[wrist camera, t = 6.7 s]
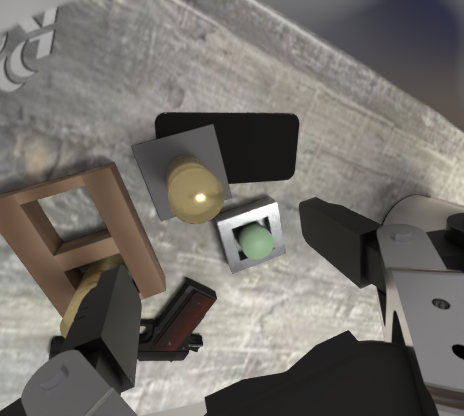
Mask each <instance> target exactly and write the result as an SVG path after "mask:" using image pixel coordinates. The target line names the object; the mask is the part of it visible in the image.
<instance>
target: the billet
mask: <svg viewBox="0 0 464 416" xmlns="http://www.w3.org/2000/svg"><path fill="white" fill-rule="evenodd" d="M166 180H167V189H168V199H169V205H170V208H171V210H172V212H173V213H174V214H175V216H176V217H178V218H179V219H180V220H182V221H184V222H186V223H190V224H201V223H205V222H207V221H209V220H211V219H213V218H214V217H215V216H216V215H217V214H218V213H219V212H220V210H221V208H222V206H223V203H224V190H223V187H222V185H221V183H220V182H219V180H218V179H217V178H216V177H215V176H214V175H213V174H212V173H211V172H210V171H209V170H208V169H207V167H206V166H205V165H204V164H203V163H202V162H201V161H200V160H199V159H198V158H196V157H194V156H191V155H180V156H177V157H176V158H174V159H173V160H172V161H171V162H170V163H169V165H168V167H167V170H166Z"/></svg>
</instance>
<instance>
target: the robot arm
mask: <svg viewBox="0 0 464 416" xmlns="http://www.w3.org/2000/svg"><path fill="white" fill-rule="evenodd" d="M299 213H300V220H301V228H302V234H303V237H304V239H305V241H306V242H307V243H308V244H309V245H310V246H311V247H312V248H313V249H314V250H316V251H317V252H318V253H319V254H320V255H321V256H323V257H324V258H325V259H326V260H327V261H329V262H330V263H331V264H332V265H333V266H334V267H336V268H337V269H338V270H339V271H340V272H341V273H343V274H344V275H345V276H346V277H347V278H349V279H350V280H351V281H352V282H353V283H354V284H356V285H357V286H358V287H359V288H360V289H361V288H364V287H366V286H368V285H370V284H373V285H375V286H376V298H377V303H378V309H379V314H380V320H381V325H382V330H383V336H384V341H375V340H366V341H358V340H357V339H356V338H355V337H354V336H353V335H352V334H351V332H350V331H349V330H348V331H346V332H343V333H341V334H339V335H337V336H335V337H333V338H331V339H328V340H326V341H324V342H322V343H320V344H318V345H316V346H315V347H314V348H312V349H311V350H310V351H309V352H308V353H307V354H306V355H304V356H303V357H302V358H301V359H300V360H299V361H298V362H297V363H295V364H294V365H293V366H292V367H291V368H290V369H289V370H287V371H286V372H283V373H278V374H272V375H266V376H260V377H254V378H249V379H243V380H241V381H239V382H236V383H234V384H232V385H230V386H228V387H226V388H224V389H221V390H219V391H217V392H215V393H213V394H211V395H209V396H206V397H205V403H206V409H207V413H206V414H205V415H204V416H464V206H462V205H459V204H455V203H452V202H449V201H445V200H442V199H438V198H435V197H430V198H428V197H424V196H420V195H413V196H409V197H407V198H405V199H403V200H401V201H400V202H399V203H397V204H396V205H395V206H394V207H393V208H392V210H391V211H390V212H389V214H388V215H387V217H386V219H385V221H384V223H383V225H381V224H379V223H377V222H375V221H373V220H371V219H369V218H366V217H364V216H362V215H360V214H359V215H358V213H356V212H354V211H351V210H350V209H348V208H346V207H344V206H342V205H337V204H332V203H327V202H325V201H323V200H321V199H319V198H317V197H314V198H311V199H308V200H305V201H303V202H300V204H299ZM141 309H142V305H141V299H140V296H139V293H138V291H137V289H136V287H135V286H134V284H133V282H132V280H131V278H130V276H129V274H128V272H127V270H126V268H125V267H124V266H123V265H119V266H116V267H114V268H111V269H108V270H105V271H103V272H102V273H101V275H100V277H99V280H98V283H97V286H96V287H94V288H91V289H90V291H89V292H88V293H87V294H86V295H85V297H84V298H83V299H82V301H81V303H80V305H79V308H78V310H77V311H78V312H77V313H76V315H75V317H74V322H72V324H71V327H70V329H69V331H68V334H67V336H66V338H65V341H64V343H63V345H62V348H61V350H60V352H59V354H58V355H56V356H55V357H53V358H52V359H50V360H49V361H47V362H46V363H45V364H44V365H43V366H41V367H40V368H39V369H38V370H37V371H36V372H35V373H34V375H33V376H32V377H31V378H30V380H29V381H28V383H27V384H26V386H25V388H24V390H23V393H22V397H21V398H19V399H18V400H16V401H15V402H13V403H12V404H10V405H9V406H7V407H6V408H4V409H3V410H1V411H0V416H137V414H136V413H135V412H134V411H133V410H132V409H131V408H130V406H129V405H128V404H127V403H126V402H125V401H124V400H123V399H122V397H121V392H124V391H126V390H128V389H130V388H133V387H134V385H135V374H136V363H137V352H138V342H139V331H140V320H141Z"/></svg>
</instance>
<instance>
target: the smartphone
mask: <svg viewBox="0 0 464 416" xmlns="http://www.w3.org/2000/svg"><path fill="white" fill-rule="evenodd" d="M212 124H213V125H214V129H215V133H216V137H217V141H218V145H219V149H220V153H221V157H222V160H223V164H224V168H225V172H226V176H227V180H228V184H235V183H250V182H265V181H280V180H288V179H290V178H291V177H292V176H293V175H294V172H295V164H296V153H297V143H298V132H299V120H298V118H297V116H296V115H294V114H278V113H274V114H272V113H162V114H160V115H159V116H158V117H157V118H156V121H155V129H156V139H160V138H164V137H168V136H171V135H175V134H179V133H182V132H186V131H190V130H193V129H197V128H201V127H204V126H208V125H212Z"/></svg>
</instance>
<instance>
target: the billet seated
mask: <svg viewBox="0 0 464 416" xmlns="http://www.w3.org/2000/svg"><path fill="white" fill-rule="evenodd" d="M119 265H123V266H124V267H125V268H126V270H127V272H129V269H128V267H127V265H126V263H125V261H124V260H123V258H122V256H121V255H119V254H115V255H112V256H109V257H106V258H103V259H100V260H97V261H94V262H91V263H89V265H88V267H87V269H86V272H85V274H84V276H83V278H82V280H81V282H80V284H79V286H78V288H77V290H76V292H75V294H74V296H73V298H72V300H71V302H70V304H69V307H68V309H67V311H66V313H65V315H64V317H63V319H62V321H61V324H60V331H61V334H62V335H63V337H64V338H66V336H67V334H68V331H69V329H70V327H71V324H72V322H74V317H75V315H76V313H77V312H78V311H77V310H78V308H79V305H80V303H81V301H82V299H83V298H84V297H85V295H86V294H87V293H88V292H89V291H90V289H91V288H94V287H96V286H97V283H98V280H99V277H100V275H101V273H102V272H103V271H105V270H108V269H111V268H114V267H116V266H119Z"/></svg>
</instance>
